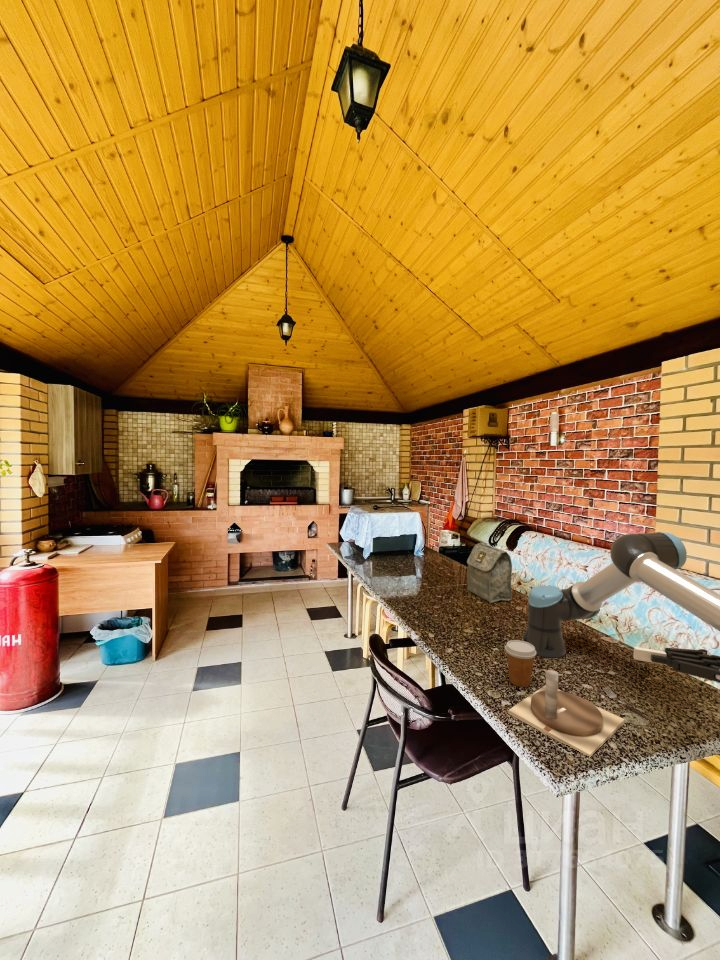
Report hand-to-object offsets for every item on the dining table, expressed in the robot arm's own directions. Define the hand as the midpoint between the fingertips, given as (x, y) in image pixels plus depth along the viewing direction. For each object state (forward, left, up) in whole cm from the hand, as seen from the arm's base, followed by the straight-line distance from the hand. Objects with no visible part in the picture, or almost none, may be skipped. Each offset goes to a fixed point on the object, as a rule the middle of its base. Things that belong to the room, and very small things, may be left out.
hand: (634, 653), depth 102 cm
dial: (+3, -15, -22) cm, 27 cm away
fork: (-17, -6, -24) cm, 30 cm away
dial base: (+3, -15, -24) cm, 28 cm away
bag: (-68, -89, -24) cm, 114 cm away
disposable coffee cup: (-4, -33, -24) cm, 41 cm away
